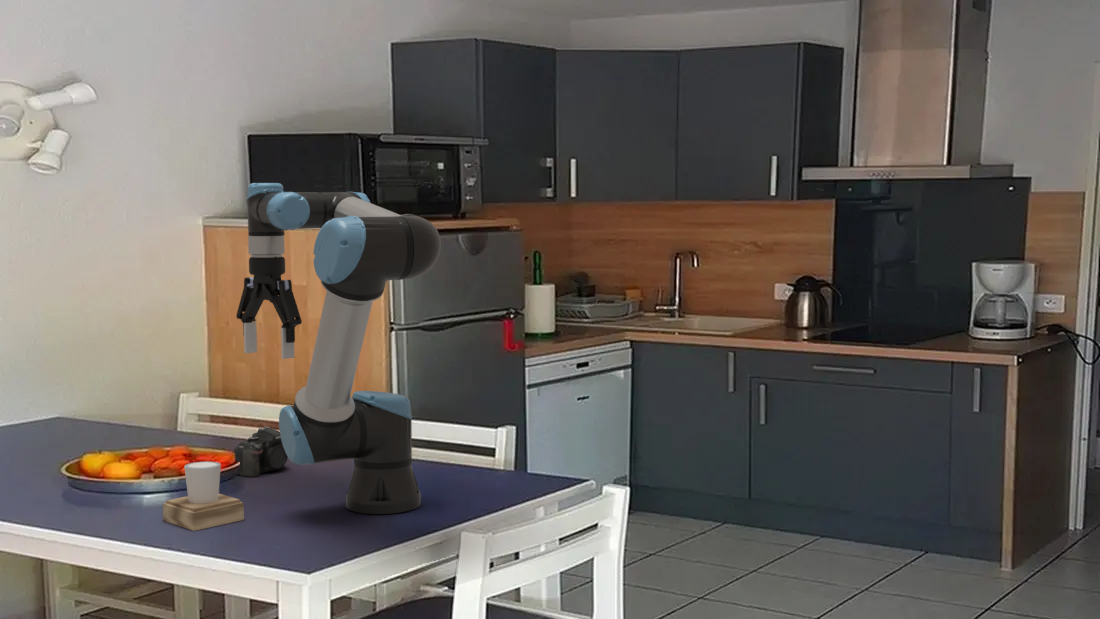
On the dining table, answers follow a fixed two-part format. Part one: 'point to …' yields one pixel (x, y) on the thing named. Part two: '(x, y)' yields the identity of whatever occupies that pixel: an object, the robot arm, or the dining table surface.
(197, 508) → the stand
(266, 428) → the camera
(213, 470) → the shot glass
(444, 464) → the dining table surface
